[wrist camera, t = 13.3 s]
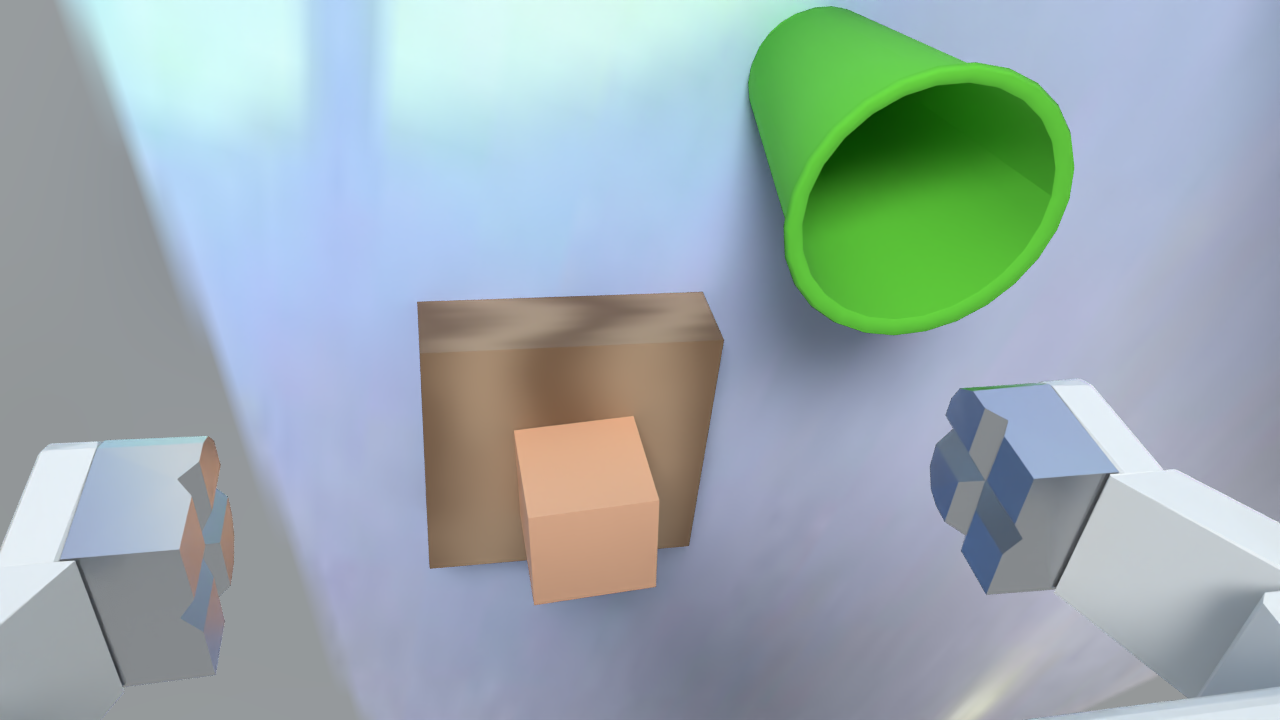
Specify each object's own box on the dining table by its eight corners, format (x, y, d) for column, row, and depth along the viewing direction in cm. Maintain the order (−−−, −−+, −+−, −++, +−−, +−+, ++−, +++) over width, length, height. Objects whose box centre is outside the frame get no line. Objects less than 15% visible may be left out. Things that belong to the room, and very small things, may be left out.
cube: (633, 415, 43) (659, 500, 39) (631, 500, 46) (655, 586, 42) (513, 430, 42) (528, 518, 38) (520, 515, 45) (534, 605, 42)
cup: (699, -43, 36) (800, 81, 27) (944, -60, 37) (1113, 54, 29) (692, 189, 41) (774, 353, 33) (906, 167, 43) (1038, 319, 34)
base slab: (700, 286, 45) (723, 340, 42) (670, 487, 52) (688, 545, 49) (416, 295, 42) (420, 353, 39) (426, 505, 49) (429, 568, 46)
